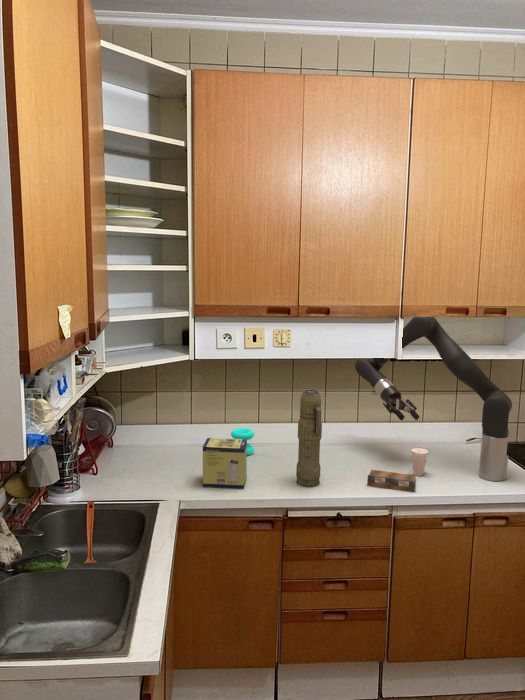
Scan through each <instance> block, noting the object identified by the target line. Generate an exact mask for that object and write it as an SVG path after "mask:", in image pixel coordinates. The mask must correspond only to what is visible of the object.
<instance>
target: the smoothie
mask: <svg viewBox="0 0 525 700" xmlns="http://www.w3.org/2000/svg"><path fill="white" fill-rule="evenodd" d="M417 446H418V447H413V448H412V449H411V454H412V455H411V456H412V457H411V458H412V470H413V472H412V473H413V474H412V475H417V476H416V477H419V476H420V477H422V475H424V472H425V468H426V464H427V457H428V455H429V451H428V450H427V449H425V448H420V447H421V440H420V439H418V445H417Z"/></svg>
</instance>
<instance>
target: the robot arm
mask: <svg viewBox="0 0 525 700" xmlns="http://www.w3.org/2000/svg"><path fill="white" fill-rule="evenodd" d="M402 329H403V337H402V348H403V349H404V348H406V347H407V346H409V345H410V344H412V343H413V342H415V341H416V340H419V339H421V338H422V337H423V338H425V339H426V340H427V341H429V342H430V343H431V344H432V345H433V347H434V348H435V349H436V351H437V353H438V355H439V357H440V359H441V358H442V359H441V361H442V362H443V364H444V365H445V367H446V368H447V369H448V371H450V373H451V374H452V375H454V377H455V378H456V379H458V380H459V381H460V382H461V383H463V384H464V385H466V386H467V387H469V388H470V389H472V390H473V391H474V392H476V393H475V394H477V395H478V396H479V397H480V398H481V400H482V401H483V406H482V415H481V416H482V417H481V428H482V430H481V432H482V433H481V443H480V453H479V454H480V456H479V465H478V476H479V477H480V478H481V479H483V480H486V481H491V482H501V481H505V480H507V477H508V475H507V474H508V467H509V455H507V450H508V440H509V432H510V431H509V416H510V412H511V410H512V408H513V402H512V399H511V398H510V396H509V395H508V394H506V393H505V391H503V390H502V389H500V388H499V387H498V386H497V385H496V384H495V383H494V382H493V381H492V380H490V378H489V377H488V376H487V374H486V373H484V371H483V370H482V369H481V368H480V367H479V365H477V364H476V362H475V361H474V360H473V358H471V356H470V355H469V354H468V353H467V352H466V351H464V349H463V348H462V347H461V346H460V345H459V344H458V343H457V342H456V341H454V339H453V338H451V337H450V335H448V333H447V332H446V331H445V329H444V328H443V327H442V326H441V324H440V322H439V321H438V320H437V319H436V317H435V316H433V317H415V316H413V317H412V318H411V319H410V320H409V322H408V323H407V324H406V325H405V326H404V327H403V328H402ZM389 361H390V359H384V358H373V357H372V358H371V359H368V358H365V359H360V358H358V359H357V360H356V361H355V363H354V369H355V371H356V373H357V374H358V375H359V376H360V377H362V379H364V380H365V381H367V382H368V384H369V385H370V386H371V387H372V389H374V391H375V392H376V394H377V395H378V396H379V397H380V399H381V400H382V402H383V403H382V405H383V406H384V408H385V409H386V411H387V412H388V413H389V414H393V415H396V417H397V418H398V419H399V420H400V421H404V420H405V417H406V416H405V415H404V413H408V414H410V415H411V417H412V418H413V419H414V421H418V420H419V418H420V415H419V413H417V412H416V410H417V409H418V407H417V406H416V405H415V404H414V403H413V402H412V401H411V400H410V399H406V400H404V399H403V398H402V393H401V392H400V391H399V390H398V389H397V387H396V386H395V385H394V384H393V383H392V382H391V381H390V380H389V379H388V378H387V376H385V374H384V373H383V372H381V371H380V370H381V369H382V368H383V366H384V365H385V364H386V363H388V362H389ZM402 411H403V412H404V413H402Z"/></svg>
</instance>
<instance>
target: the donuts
mask: <svg viewBox="0 0 525 700" xmlns="http://www.w3.org/2000/svg"><path fill="white" fill-rule="evenodd" d="M230 436H231V437H232V439H247V441H251V440H252V439H253V438H254V437H255V432H254V430H253V429H250V428H249V427H248V428H247V427H238V428H234V429H233V430H231V433H230ZM254 451H255V448H254V446H253V445H252V444H249V443H248V442H247V456H248V457H249V456H250V455H252V454H254Z"/></svg>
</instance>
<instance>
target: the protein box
mask: <svg viewBox="0 0 525 700" xmlns="http://www.w3.org/2000/svg"><path fill="white" fill-rule="evenodd" d="M247 443H248V440H247V439H234V438H220V437H219V438H214V437H207V438H206V439H205V442H204V443H203V445H202V488H209V489H211V488H215V489H217V488H218V489H233V490H234V489H235V490H236V489H237V490H238V489H239V490H244V489H245V487H246V482H247V480H248V479H247V478H248V476H247V475H248V474H247V473H248V472H247V471H248V469H247V467H248V466H247V463H248V462H247V461H248V459H247V458H248V457H247Z"/></svg>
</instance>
